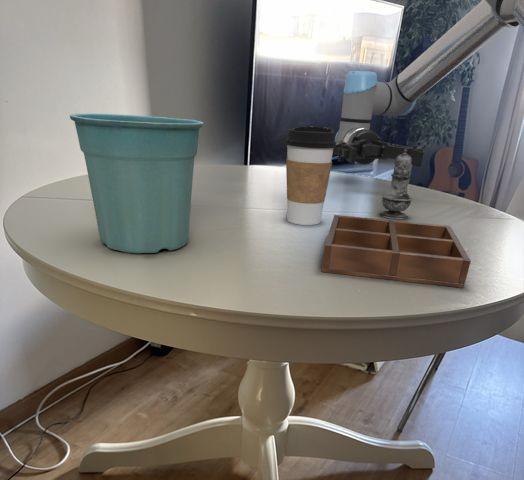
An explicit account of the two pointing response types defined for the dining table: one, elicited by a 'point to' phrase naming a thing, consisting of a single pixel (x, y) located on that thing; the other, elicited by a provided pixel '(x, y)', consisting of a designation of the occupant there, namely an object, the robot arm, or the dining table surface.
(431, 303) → the dining table surface
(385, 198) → the salt shaker
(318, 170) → the coffee cup
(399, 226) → the tray
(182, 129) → the flower pot
